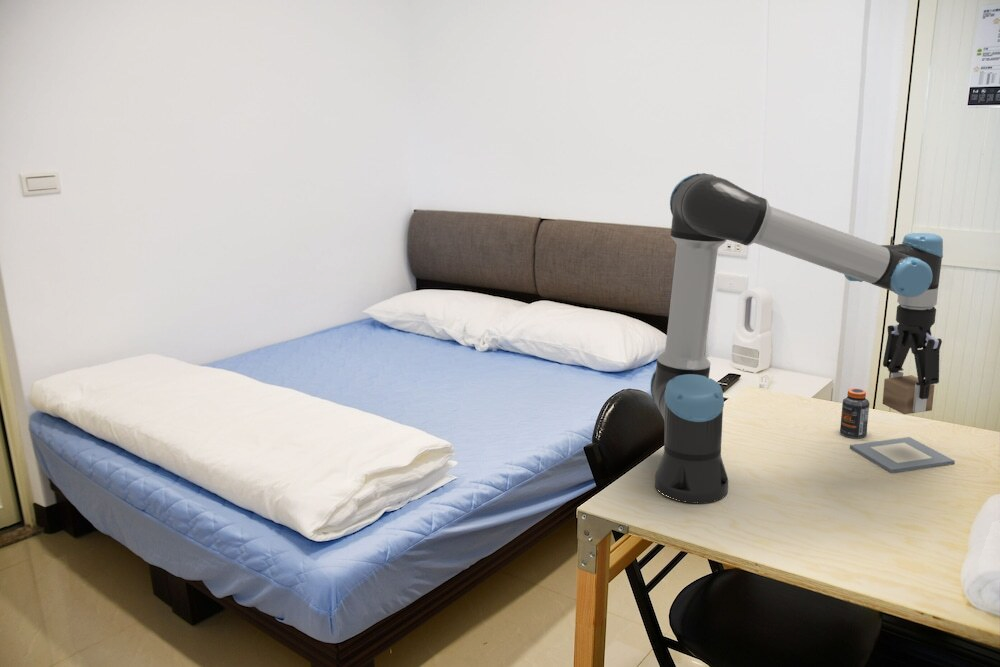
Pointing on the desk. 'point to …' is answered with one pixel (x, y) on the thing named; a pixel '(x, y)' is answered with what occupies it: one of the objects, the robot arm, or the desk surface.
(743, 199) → the robot arm
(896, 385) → the walnut block
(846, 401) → the pill bottle
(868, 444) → the board
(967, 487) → the desk surface
